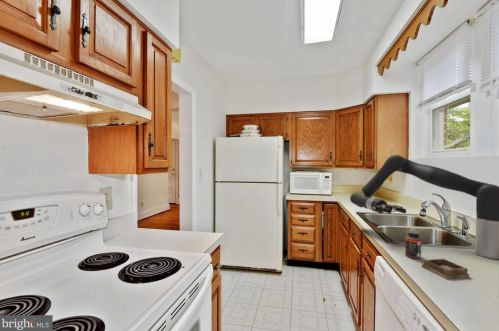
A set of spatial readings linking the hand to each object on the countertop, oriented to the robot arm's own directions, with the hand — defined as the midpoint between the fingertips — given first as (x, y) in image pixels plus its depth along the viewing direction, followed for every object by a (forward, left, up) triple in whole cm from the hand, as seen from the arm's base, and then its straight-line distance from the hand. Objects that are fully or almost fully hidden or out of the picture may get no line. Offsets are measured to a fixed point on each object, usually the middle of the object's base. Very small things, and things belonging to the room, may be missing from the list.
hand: (398, 211), depth 123 cm
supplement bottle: (+2, +12, -18) cm, 22 cm away
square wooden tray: (+2, +27, -18) cm, 33 cm away
